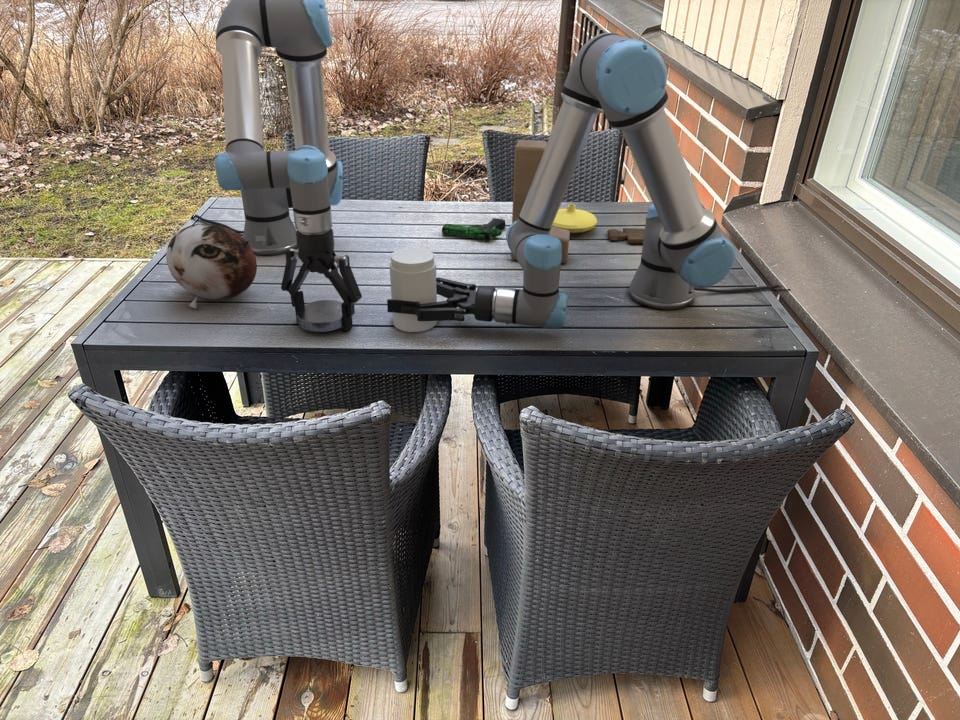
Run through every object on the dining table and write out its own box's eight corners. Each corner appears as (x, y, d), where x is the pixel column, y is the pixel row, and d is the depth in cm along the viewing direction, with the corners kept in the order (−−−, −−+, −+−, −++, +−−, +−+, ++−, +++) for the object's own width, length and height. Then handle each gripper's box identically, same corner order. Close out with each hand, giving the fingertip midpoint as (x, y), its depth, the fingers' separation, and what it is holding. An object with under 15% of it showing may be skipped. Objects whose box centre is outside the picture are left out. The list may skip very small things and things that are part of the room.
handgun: (511, 219, 210) (493, 234, 198) (511, 228, 211) (492, 244, 199) (461, 212, 215) (440, 226, 203) (461, 221, 217) (440, 236, 204)
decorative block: (567, 264, 188) (576, 149, 173) (510, 260, 190) (514, 146, 174) (568, 253, 194) (577, 141, 179) (513, 250, 196) (517, 138, 181)
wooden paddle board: (702, 246, 201) (693, 234, 209) (703, 241, 200) (694, 228, 208) (610, 243, 201) (606, 231, 210) (611, 237, 200) (606, 225, 209)
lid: (354, 309, 161) (353, 300, 160) (343, 333, 152) (342, 323, 151) (305, 307, 162) (304, 298, 161) (291, 331, 152) (290, 321, 151)
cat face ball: (130, 285, 161) (164, 203, 163) (192, 308, 177) (221, 233, 178) (195, 307, 151) (229, 220, 152) (254, 330, 166) (285, 250, 168)
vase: (559, 216, 220) (561, 193, 217) (605, 227, 212) (608, 204, 209) (532, 230, 209) (533, 207, 206) (580, 242, 201) (582, 218, 198)
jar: (394, 333, 155) (390, 265, 146) (391, 313, 163) (387, 247, 155) (439, 330, 156) (438, 262, 148) (434, 310, 164) (432, 245, 156)
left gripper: (254, 228, 146) (269, 323, 157) (357, 243, 140) (364, 341, 151) (274, 216, 152) (287, 308, 163) (374, 230, 146) (380, 325, 157)
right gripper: (485, 345, 146) (380, 334, 149) (502, 298, 165) (409, 289, 168) (485, 312, 142) (378, 301, 146) (503, 268, 161) (408, 259, 165)
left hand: (324, 324), depth 157 cm, fingers closed on lid, 11 cm apart
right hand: (395, 295), depth 157 cm, fingers closed on jar, 10 cm apart
